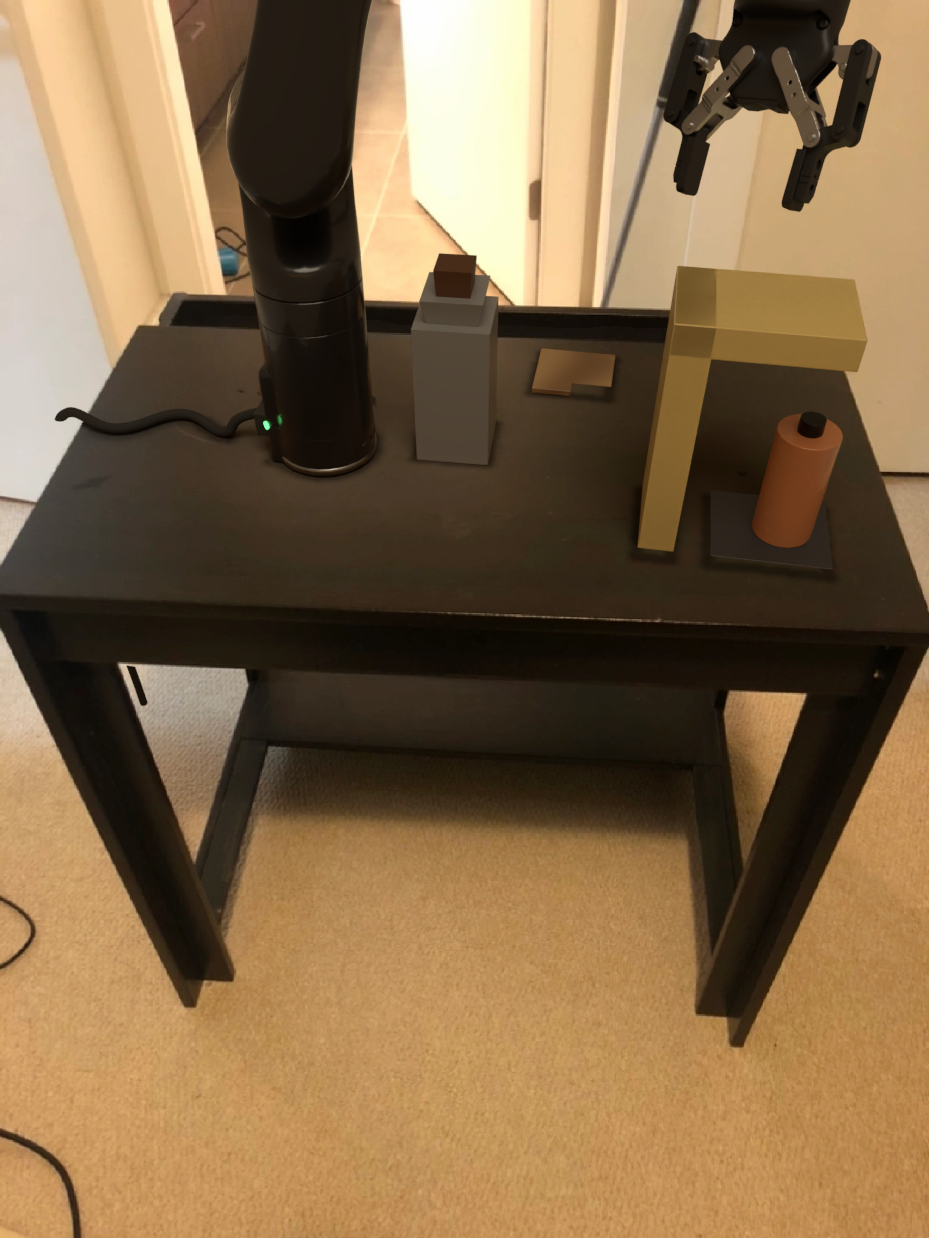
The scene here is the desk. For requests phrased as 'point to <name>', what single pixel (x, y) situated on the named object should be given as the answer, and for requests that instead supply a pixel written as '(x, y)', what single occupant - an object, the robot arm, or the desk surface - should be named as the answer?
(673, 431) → the tan l-shaped post
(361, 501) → the desk surface
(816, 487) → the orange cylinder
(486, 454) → the perfume bottle
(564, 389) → the cork mat
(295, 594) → the desk surface
